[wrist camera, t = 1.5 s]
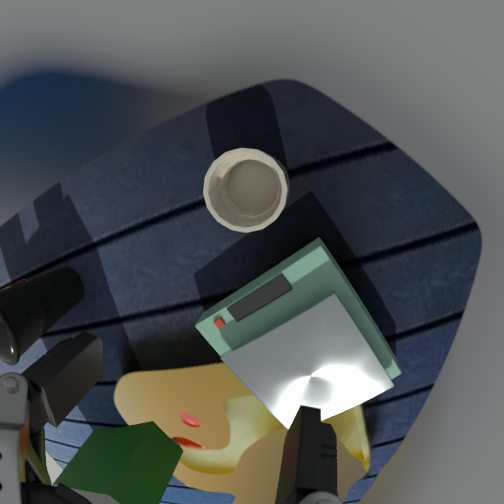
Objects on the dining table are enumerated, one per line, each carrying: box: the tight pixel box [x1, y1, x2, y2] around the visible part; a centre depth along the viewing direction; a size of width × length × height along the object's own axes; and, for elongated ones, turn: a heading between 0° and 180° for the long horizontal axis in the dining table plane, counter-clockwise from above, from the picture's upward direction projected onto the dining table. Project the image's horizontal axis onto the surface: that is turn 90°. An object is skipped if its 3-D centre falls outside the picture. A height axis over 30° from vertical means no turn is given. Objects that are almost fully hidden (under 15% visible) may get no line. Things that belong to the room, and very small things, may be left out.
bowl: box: [203, 148, 290, 232], centre depth 24 cm, size 6×6×5 cm
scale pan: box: [221, 290, 394, 429], centre depth 26 cm, size 12×12×1 cm
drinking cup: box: [0, 267, 84, 365], centre depth 25 cm, size 8×8×20 cm
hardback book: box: [52, 421, 183, 504], centre depth 30 cm, size 18×7×24 cm, turn 122°
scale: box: [195, 237, 401, 379], centre depth 29 cm, size 14×16×3 cm
